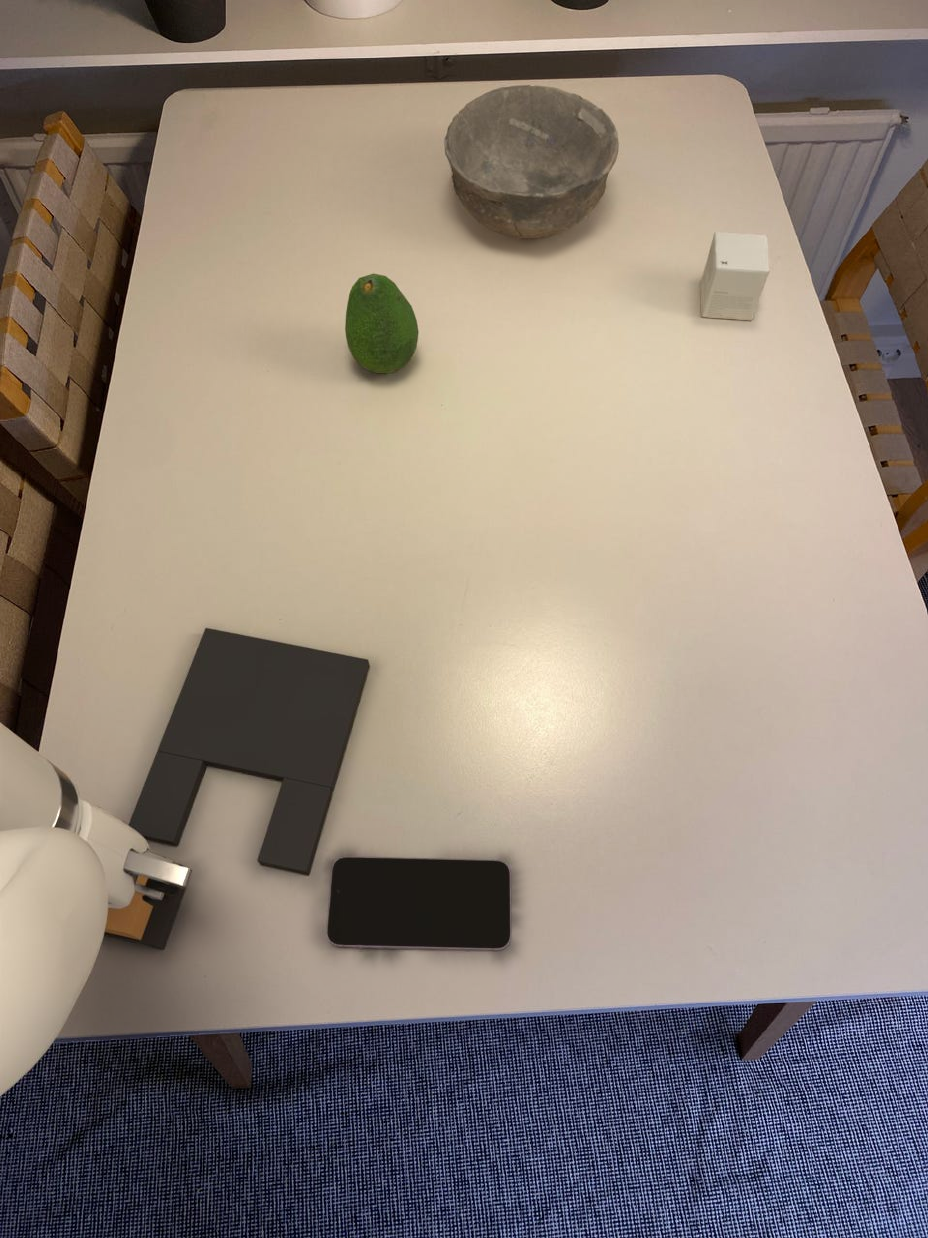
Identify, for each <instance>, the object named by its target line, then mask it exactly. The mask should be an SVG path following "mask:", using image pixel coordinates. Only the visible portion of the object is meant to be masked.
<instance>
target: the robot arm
mask: <svg viewBox="0 0 928 1238" xmlns="http://www.w3.org/2000/svg"><path fill="white" fill-rule="evenodd" d="M150 850H151V848H150V845H149V843H148V840H146V839H145V838H144V837H143V836H142V835H141V834H140V833H138V832H137V831H136V830H134V829H133V828H132V827H130V826H129V824H127V823H126V822H124V821H122V820H120V819H119V818H117V817H115V816H114V815H112V814H110V813H109V812H107V811H105V810H104V809H102V808H101V807H100V806H96V805H94V804H92V803H91V802H88V801H86V800H85V799H84V798H82V797H81V793H80V791H79V789H78V787H77V784H76V783H75V782H74V781H73V779H72V778H71V777H70V776H69V775H68V774H67V773H66V772H64V770H62V769H60V768H59V767H58V766H57V765H55V763H53V762H51V761H50V760H49V759H47V758H46V757H45V756H44V755H42V754H41V753H40V752H39V751H38V750H36V749H35V748H33V747H32V746H31V745H30V744H28V743H27V741H25V740H24V739H22V738H21V737H20V736H18V735H17V734H16V733H14V732H13V730H10V729H9V728H8V727H7V726H5V725H4V724H3V723H2V722H0V1097H2V1095H4V1094H5V1093H6V1092H8V1091H9V1090H10V1089H11V1088H13V1086H14V1085H16V1083H18V1082H20V1080H21V1079H22V1078H23V1077H24V1076H25V1075H27V1073H29V1071H31V1070H32V1069H33V1068H34V1066H35V1065H36V1064H37V1063H38V1062H39V1061H40V1060H41V1058H42V1057H43V1056H44V1055H45V1054H46V1053H47V1052H48V1050H49V1049H50V1048H51V1046H52V1044H53V1043H54V1041H55V1040H56V1039H57V1037H58V1035H59V1034H60V1033H61V1031H62V1029H63V1028H64V1025H65V1024H66V1022H67V1021H68V1019H69V1016H70V1015H71V1012H72V1010H73V1008H74V1006H75V1005H76V1003H77V1000H78V998H79V996H80V995H81V993H82V991H83V989H84V987H85V985H86V983H87V981H88V979H89V977H90V975H91V973H92V971H93V968H94V966H95V963H96V961H97V959H98V955H99V952H100V949H101V946H102V943H103V940H104V937H105V936H104V932H105V927H106V922H107V914H108V908H114V909H121V908H124V907H126V906H128V905H129V904H130V902H131V900H132V898H133V896H134V893H137V894H140V895H142V899H143V901H145V902H147V903H148V904H150V905H152V906H153V907H155V908H157V909H160V910H164V911H165V910H166V909H167V906H168V904H169V901H170V899H175V898H176V896H177V894H178V893H179V891H180V889H184V888H187V886H188V883H189V881H190V878H191V874H192V872H193V869H192V868H190V867H186V866H184V865H183V864H181V863H177V862H176V861H175V860H172V859H170V858H167V857H166V856H162V855H159V854H156V853H154V852H151V851H150ZM138 875H139V876H143V877H146V878H148V879H147V882H146V885H145V886H144V885H141V884H138V883H136V881H137V878H138Z"/></svg>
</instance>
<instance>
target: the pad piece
mask: <svg viewBox="0 0 928 1238" xmlns="http://www.w3.org/2000/svg"><path fill="white" fill-rule="evenodd" d="M147 879H148V878H146V877H143V876H139V875H138V878H137V881H136V883H138V884H141V885H144V886H145V885H146V882H147ZM186 888H187V887H186ZM186 888H184V889H180V891H179V893H178V894H177V896H176V898H175V899H170V901H169V904H168V906H167V909H166V910H165V911H164V910H160V909H157V908H155V907H153V906H152V905H150V904H148V903H147V902H145V901H143V899H142V895H140V894H137V893H134V896H133V898H132V900H131V902H130V904H129V905H128V906H126V907H124V908H121V909H114V908H108V914H107V922H106V927H105V932H104V937H107V938H111V939H115V940H120V941H125V942H129V943H133V944H137V945H140V946H141V945H142V946H146V947H149V948H153V949H158V950H162V951H163V950H165V949H166V946H167V944H168V941H169V937H170V935H171V931H172V929H173V926H174V923H175V921H176V917H177V915H178V912H179V908H180V906H181V903H182V900H183V898H184V896H185V895H184V894H185V892H186Z"/></svg>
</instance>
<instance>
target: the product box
mask: <svg viewBox="0 0 928 1238" xmlns="http://www.w3.org/2000/svg"><path fill="white" fill-rule="evenodd" d="M769 253H770V252H769V240H768V235H766V234H757V233H756V234H755V233H739V232H737V233H736V232H723V231H722V232H721V231H720V232H719V231H715V232H714V233H713V236H712V241H711V245H710V247H709V252H708V254H707V259H706V262H705V265H704V269H703V274H702V276H701V280H700V286H699V287H700V314H701V315H700V316H701V317H702V318H708V319H709V318H711V319H725V320H739V321H752V320H753V319H754V315H755V313H756V310H757V308H758V306H759V305H758V303H759V302H760V299H761V296H762V293H763V290H764V288H765V284H766V283H767V279H768V277H769V274H770V272H771V270H770V268H771V267H770V254H769Z"/></svg>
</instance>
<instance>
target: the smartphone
mask: <svg viewBox="0 0 928 1238" xmlns="http://www.w3.org/2000/svg"><path fill="white" fill-rule="evenodd" d="M330 870H331V871H330V881H329V893H328V905H327V906H328V907H327V918H326V930H325V931H326V932H325V933H326V934H325V935H326V938H327V940H328V942H329V943H330V944H331V945H332V946H334V947H335V948H349V949H350V948H352V949H381V950H383V949H388V950H437V951H438V950H441V951H480V952H481V951H486V952H497V951H503V950H505V949H506V948H508V946H509V944H510V942H511V939H512V871H511V869H510V866H509V865H508V864H507V863H506V862H505V861H503V860H500V859H479V858H478V859H477V858H476V859H475V858H437V857H397V856H396V857H395V856H394V857H393V856H392V857H391V856H389V857H388V856H360V855H359V856H357V855H355V856H354V855H353V856H352V855H347V856H345V855H344V856H341V857H338V858H337V859H335V860H334V862H333V863H332V866H331V869H330Z"/></svg>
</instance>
